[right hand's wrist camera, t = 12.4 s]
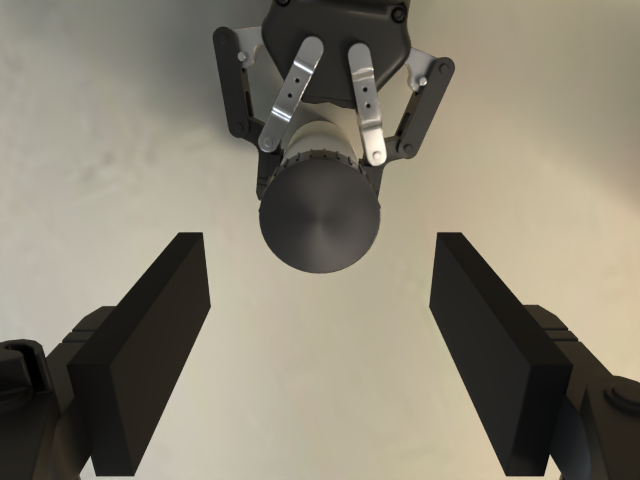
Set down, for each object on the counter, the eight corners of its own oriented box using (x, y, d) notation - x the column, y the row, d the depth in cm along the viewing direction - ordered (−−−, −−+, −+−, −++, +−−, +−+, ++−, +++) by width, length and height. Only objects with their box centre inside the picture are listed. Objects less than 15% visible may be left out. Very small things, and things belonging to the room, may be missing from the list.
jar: (278, 169, 34) (248, 241, 20) (303, 109, 33) (289, 142, 18) (335, 193, 35) (345, 280, 21) (362, 136, 33) (394, 188, 19)
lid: (247, 231, 22) (239, 248, 20) (289, 128, 20) (285, 135, 18) (346, 271, 22) (349, 292, 20) (395, 176, 21) (404, 188, 19)
